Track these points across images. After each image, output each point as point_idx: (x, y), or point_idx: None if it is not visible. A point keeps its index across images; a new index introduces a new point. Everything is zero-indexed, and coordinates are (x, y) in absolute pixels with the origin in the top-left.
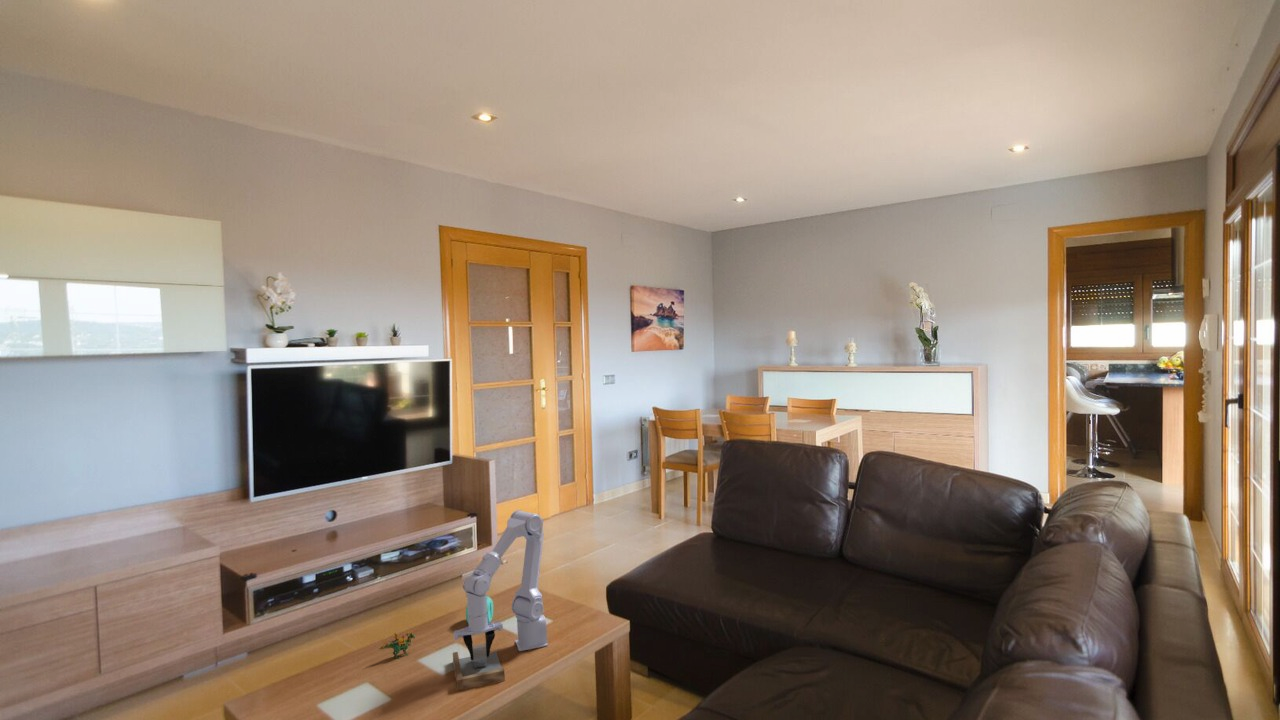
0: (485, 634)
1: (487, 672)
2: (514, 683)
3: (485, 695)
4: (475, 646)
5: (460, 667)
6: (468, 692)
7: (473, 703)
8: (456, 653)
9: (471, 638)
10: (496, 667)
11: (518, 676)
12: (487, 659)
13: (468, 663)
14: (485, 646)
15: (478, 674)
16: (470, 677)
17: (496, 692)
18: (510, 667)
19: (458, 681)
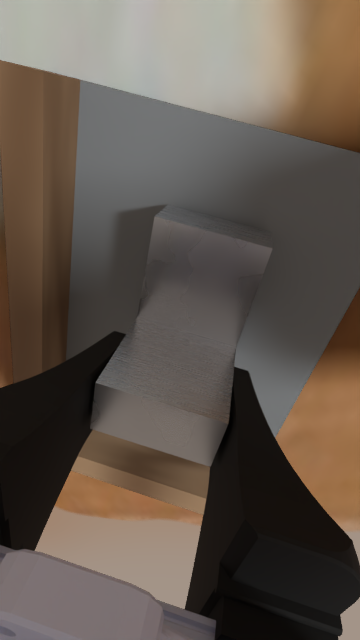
0: (229, 516)
1: (164, 491)
2: None
3: (136, 499)
4: (121, 410)
5: (42, 359)
6: None
7: (86, 504)
8: (30, 110)
9: (16, 545)
10: (268, 392)
11: (315, 495)
12: (278, 262)
13: (139, 224)
14: (204, 462)
15: (119, 477)
16: (78, 471)
17: (178, 511)
18: (343, 416)
19: None
